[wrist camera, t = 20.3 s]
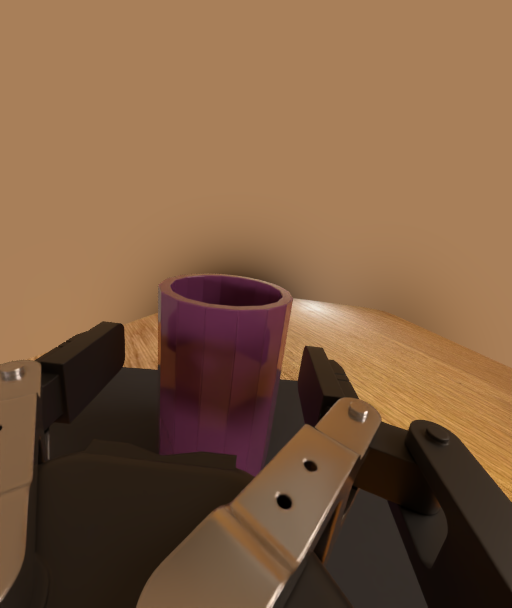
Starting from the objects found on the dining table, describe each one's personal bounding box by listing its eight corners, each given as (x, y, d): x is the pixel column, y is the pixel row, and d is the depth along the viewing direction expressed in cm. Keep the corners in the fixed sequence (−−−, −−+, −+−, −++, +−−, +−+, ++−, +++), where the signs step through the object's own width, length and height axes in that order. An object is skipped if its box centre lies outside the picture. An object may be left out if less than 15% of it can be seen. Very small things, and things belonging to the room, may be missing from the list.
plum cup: (140, 500, 13) (137, 300, 10) (173, 411, 19) (178, 269, 16) (269, 506, 13) (304, 316, 10) (262, 417, 19) (283, 280, 16)
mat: (-168, 667, 8) (-173, 659, 8) (104, 369, 23) (104, 365, 23) (475, 665, 9) (479, 658, 9) (331, 387, 25) (332, 383, 24)
